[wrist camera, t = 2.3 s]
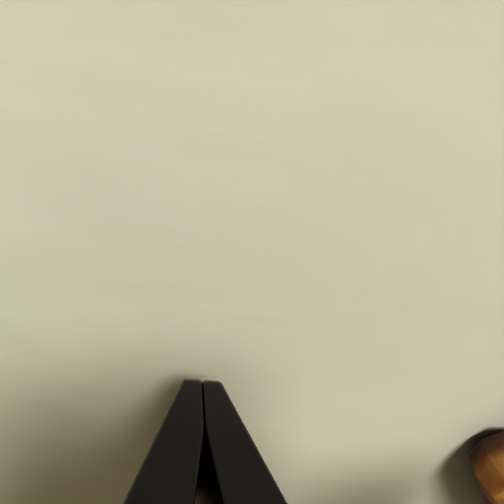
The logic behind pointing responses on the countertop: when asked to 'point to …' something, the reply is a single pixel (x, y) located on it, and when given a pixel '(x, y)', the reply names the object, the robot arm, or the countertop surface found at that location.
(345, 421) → the countertop surface
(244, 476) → the robot arm
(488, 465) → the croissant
